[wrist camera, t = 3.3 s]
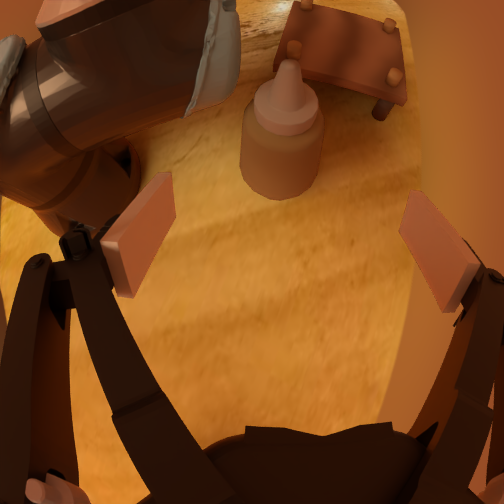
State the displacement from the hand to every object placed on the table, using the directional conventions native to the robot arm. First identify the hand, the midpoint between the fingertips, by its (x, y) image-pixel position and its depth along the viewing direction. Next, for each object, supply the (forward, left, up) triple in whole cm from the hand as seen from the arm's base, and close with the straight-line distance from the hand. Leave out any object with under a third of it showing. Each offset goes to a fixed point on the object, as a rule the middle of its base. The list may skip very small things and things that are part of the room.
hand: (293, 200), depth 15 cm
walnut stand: (-7, +27, -17) cm, 33 cm away
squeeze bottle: (-5, +7, -17) cm, 19 cm away
